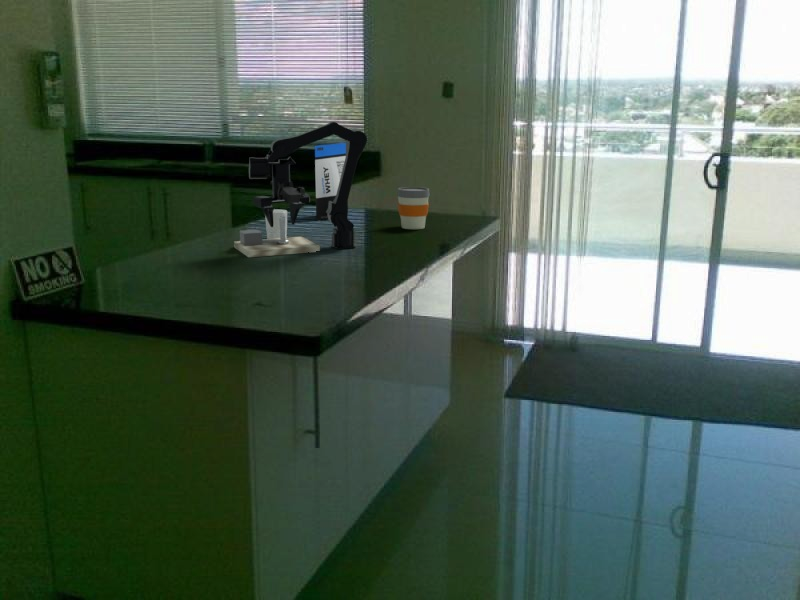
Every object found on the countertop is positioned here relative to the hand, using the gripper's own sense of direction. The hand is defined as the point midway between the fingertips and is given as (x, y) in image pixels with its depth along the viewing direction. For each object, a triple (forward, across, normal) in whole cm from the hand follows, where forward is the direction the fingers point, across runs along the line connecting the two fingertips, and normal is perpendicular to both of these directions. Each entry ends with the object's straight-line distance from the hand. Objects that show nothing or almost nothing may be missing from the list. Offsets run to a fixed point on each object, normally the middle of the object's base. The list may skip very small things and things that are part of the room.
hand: (282, 225), depth 263 cm
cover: (+6, -8, +6) cm, 12 cm away
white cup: (+8, +9, +18) cm, 22 cm away
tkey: (+6, -2, +1) cm, 6 cm away
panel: (+8, -2, +2) cm, 8 cm away
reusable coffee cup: (+8, +64, +7) cm, 65 cm away
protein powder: (+8, +54, +47) cm, 72 cm away
